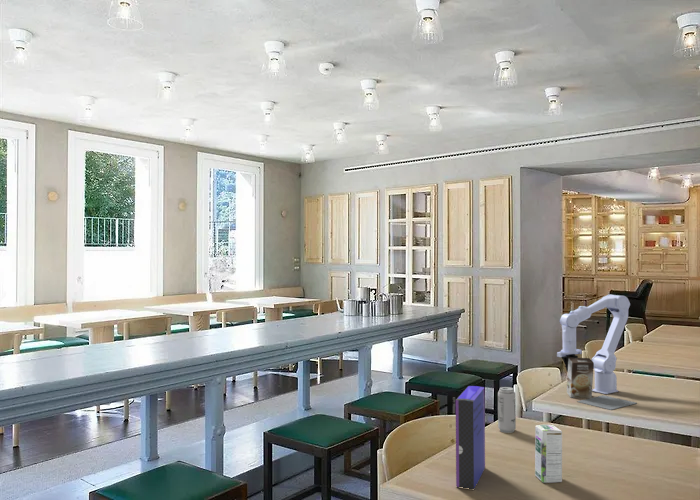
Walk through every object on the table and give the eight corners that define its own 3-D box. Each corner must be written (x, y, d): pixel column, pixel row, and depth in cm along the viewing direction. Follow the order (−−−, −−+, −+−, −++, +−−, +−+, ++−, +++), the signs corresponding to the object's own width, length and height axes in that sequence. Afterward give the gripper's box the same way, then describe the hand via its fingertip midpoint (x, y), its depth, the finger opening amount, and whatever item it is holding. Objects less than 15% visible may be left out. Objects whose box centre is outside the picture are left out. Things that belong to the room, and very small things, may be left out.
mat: (603, 395, 257) (603, 395, 257) (636, 403, 244) (636, 402, 244) (577, 401, 247) (577, 401, 247) (610, 410, 234) (610, 409, 234)
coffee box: (570, 398, 254) (571, 362, 251) (566, 391, 260) (567, 357, 258) (592, 398, 253) (594, 362, 250) (587, 392, 259) (589, 357, 257)
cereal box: (468, 465, 176) (468, 385, 176) (485, 467, 174) (484, 386, 174) (456, 487, 160) (455, 399, 160) (473, 490, 158) (473, 400, 158)
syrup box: (534, 475, 168) (533, 424, 168) (554, 474, 168) (553, 423, 168) (542, 483, 162) (542, 430, 162) (563, 482, 162) (562, 430, 162)
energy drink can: (516, 433, 206) (516, 390, 206) (498, 432, 207) (498, 390, 207) (515, 428, 212) (514, 386, 212) (497, 427, 213) (497, 386, 213)
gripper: (572, 338, 268) (572, 368, 268) (551, 341, 260) (551, 372, 260) (585, 340, 262) (585, 370, 262) (564, 343, 254) (564, 374, 254)
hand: (569, 371), depth 261 cm, fingers closed
